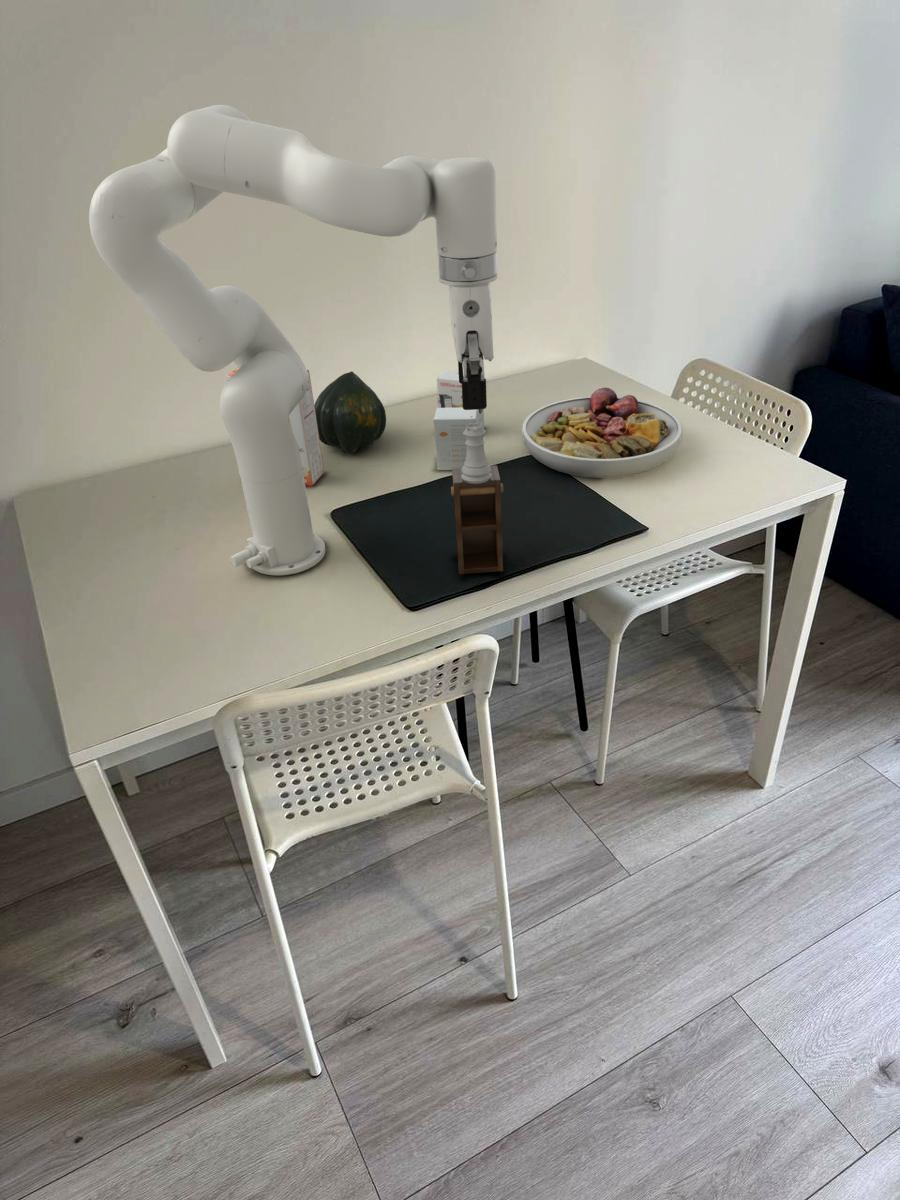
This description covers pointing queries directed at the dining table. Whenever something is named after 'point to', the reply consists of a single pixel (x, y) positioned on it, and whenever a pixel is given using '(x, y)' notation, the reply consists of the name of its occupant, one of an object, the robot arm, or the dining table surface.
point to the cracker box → (305, 435)
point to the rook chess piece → (475, 456)
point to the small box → (452, 436)
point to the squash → (349, 414)
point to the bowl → (602, 435)
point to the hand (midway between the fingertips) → (472, 395)
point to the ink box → (452, 392)
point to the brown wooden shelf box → (478, 523)
